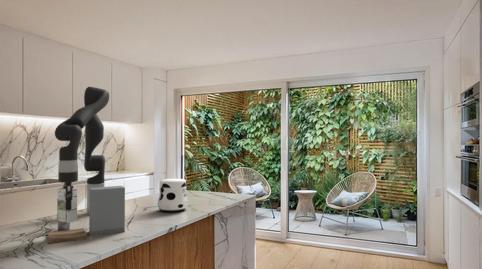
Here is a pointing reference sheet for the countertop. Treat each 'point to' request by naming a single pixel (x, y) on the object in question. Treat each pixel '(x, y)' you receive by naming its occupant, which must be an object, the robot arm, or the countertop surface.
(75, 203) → the syrup box
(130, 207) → the countertop surface
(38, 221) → the countertop surface
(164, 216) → the countertop surface
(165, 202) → the milk container
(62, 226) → the metal cylinder
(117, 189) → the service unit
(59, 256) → the countertop surface
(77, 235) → the board
